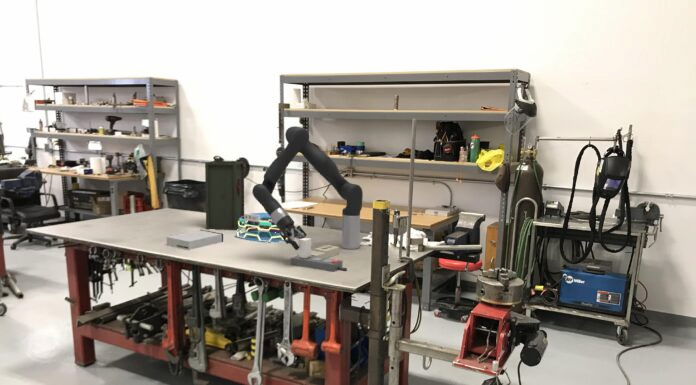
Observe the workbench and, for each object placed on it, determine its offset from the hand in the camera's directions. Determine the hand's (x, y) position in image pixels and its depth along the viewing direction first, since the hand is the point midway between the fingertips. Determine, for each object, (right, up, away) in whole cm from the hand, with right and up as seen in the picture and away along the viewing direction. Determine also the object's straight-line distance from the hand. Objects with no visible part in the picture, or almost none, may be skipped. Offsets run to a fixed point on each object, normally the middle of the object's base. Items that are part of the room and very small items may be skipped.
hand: (303, 247), depth 223 cm
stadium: (-27, -1, +56) cm, 63 cm away
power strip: (+8, -8, -3) cm, 12 cm away
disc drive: (-60, -3, +37) cm, 70 cm away
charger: (+1, -8, 0) cm, 8 cm away
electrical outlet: (+8, -7, +15) cm, 18 cm away
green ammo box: (-55, +3, +82) cm, 99 cm away
